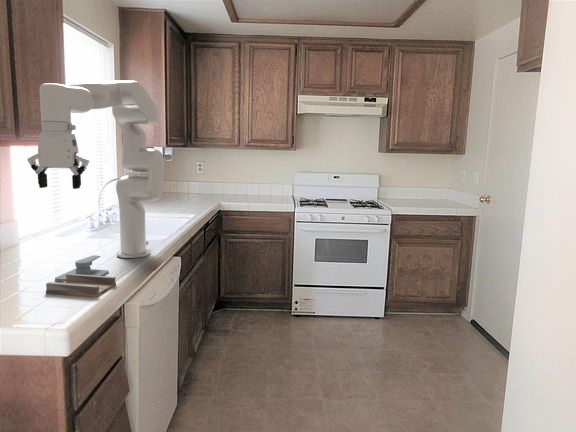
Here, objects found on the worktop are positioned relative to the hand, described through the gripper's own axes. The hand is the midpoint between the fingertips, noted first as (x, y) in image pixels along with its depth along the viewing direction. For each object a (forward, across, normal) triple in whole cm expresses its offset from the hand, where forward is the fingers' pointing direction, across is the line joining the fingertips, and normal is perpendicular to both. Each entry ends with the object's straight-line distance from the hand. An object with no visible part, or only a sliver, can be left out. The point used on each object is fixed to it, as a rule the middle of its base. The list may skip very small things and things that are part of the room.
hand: (60, 187), depth 126 cm
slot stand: (+31, -5, 0) cm, 32 cm away
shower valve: (+29, 0, -22) cm, 36 cm away
